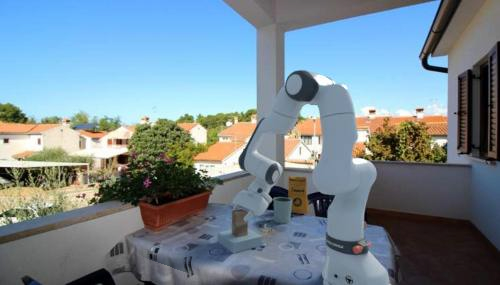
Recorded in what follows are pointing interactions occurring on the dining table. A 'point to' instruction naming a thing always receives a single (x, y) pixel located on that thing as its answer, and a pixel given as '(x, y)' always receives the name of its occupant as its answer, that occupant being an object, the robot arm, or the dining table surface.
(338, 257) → the robot arm
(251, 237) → the slate base
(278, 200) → the embossed ceramic cup
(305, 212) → the coffee package
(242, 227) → the walnut block
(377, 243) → the dining table surface
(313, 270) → the dining table surface
